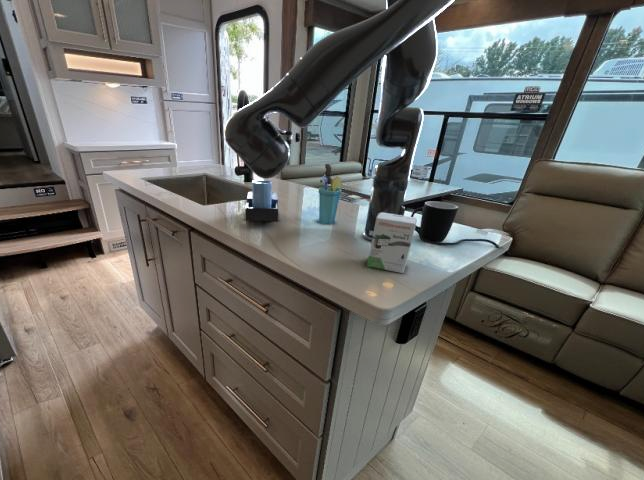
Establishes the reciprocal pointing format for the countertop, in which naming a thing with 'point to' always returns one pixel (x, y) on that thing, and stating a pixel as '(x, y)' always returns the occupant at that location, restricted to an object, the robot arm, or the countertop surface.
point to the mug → (436, 220)
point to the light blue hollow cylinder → (261, 193)
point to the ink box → (391, 242)
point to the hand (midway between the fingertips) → (261, 134)
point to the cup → (329, 200)
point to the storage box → (262, 210)
